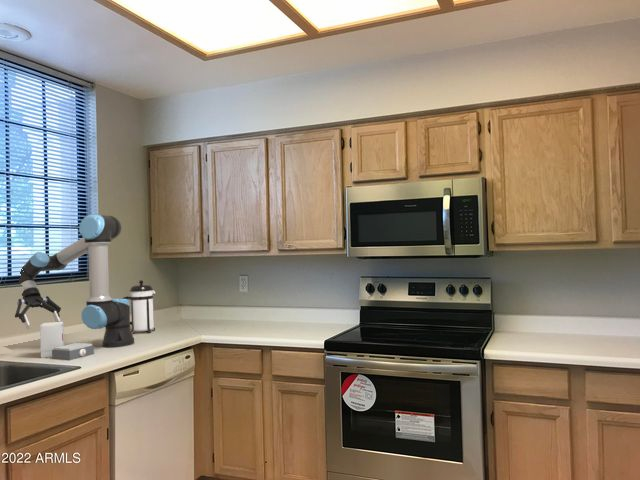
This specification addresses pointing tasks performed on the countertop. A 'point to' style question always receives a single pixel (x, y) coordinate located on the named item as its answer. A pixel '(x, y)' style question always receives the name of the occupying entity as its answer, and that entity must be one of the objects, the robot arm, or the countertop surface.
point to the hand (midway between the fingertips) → (43, 324)
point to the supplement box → (51, 337)
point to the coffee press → (141, 307)
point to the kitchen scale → (72, 351)
